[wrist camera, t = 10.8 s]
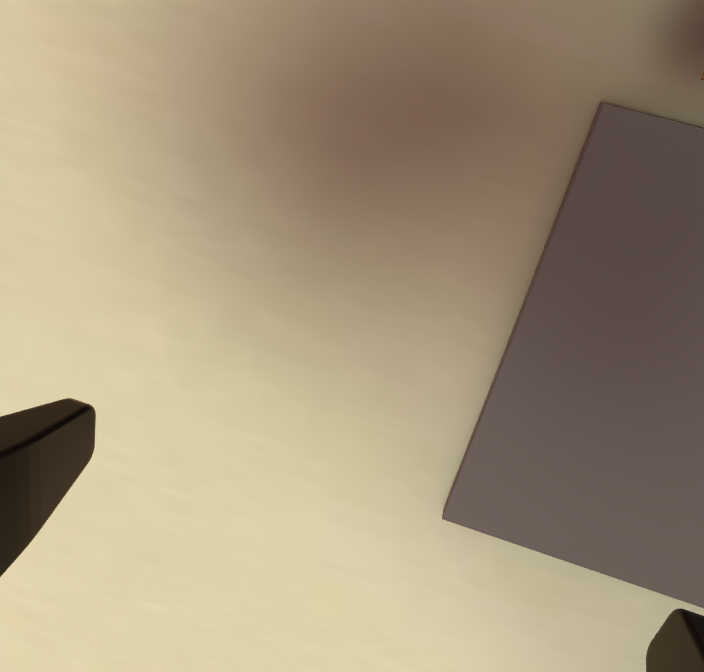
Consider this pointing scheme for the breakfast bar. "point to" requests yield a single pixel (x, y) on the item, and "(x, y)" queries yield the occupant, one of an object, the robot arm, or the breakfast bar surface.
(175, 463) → the breakfast bar surface
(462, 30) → the breakfast bar surface
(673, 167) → the rubber mat
